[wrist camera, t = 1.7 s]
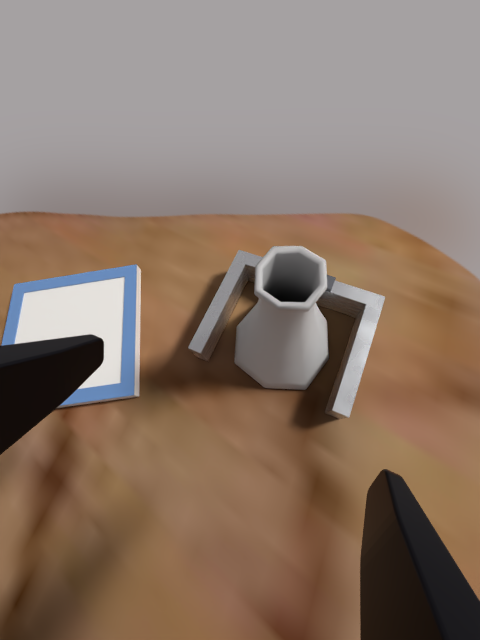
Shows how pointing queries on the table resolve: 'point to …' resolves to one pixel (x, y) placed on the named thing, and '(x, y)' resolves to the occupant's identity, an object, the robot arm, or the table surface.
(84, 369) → the robot arm
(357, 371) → the grey u-shaped bracket
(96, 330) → the white tile
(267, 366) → the flask
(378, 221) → the table surface
